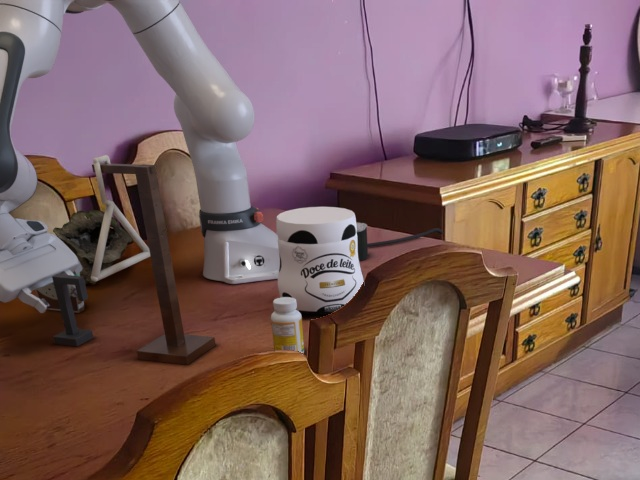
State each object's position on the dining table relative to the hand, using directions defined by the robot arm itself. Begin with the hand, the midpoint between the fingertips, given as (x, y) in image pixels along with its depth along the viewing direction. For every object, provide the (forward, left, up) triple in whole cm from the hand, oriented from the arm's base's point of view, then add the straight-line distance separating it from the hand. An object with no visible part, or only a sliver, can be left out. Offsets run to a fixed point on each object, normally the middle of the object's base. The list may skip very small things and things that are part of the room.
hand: (63, 302), depth 153 cm
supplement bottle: (-40, +16, -8) cm, 44 cm away
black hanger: (-1, +1, -7) cm, 8 cm away
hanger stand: (-18, +9, -7) cm, 22 cm away
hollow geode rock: (+1, -46, -8) cm, 47 cm away
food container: (+4, -22, -8) cm, 24 cm away
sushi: (-58, -46, -8) cm, 74 cm away
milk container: (-48, -9, -8) cm, 49 cm away
